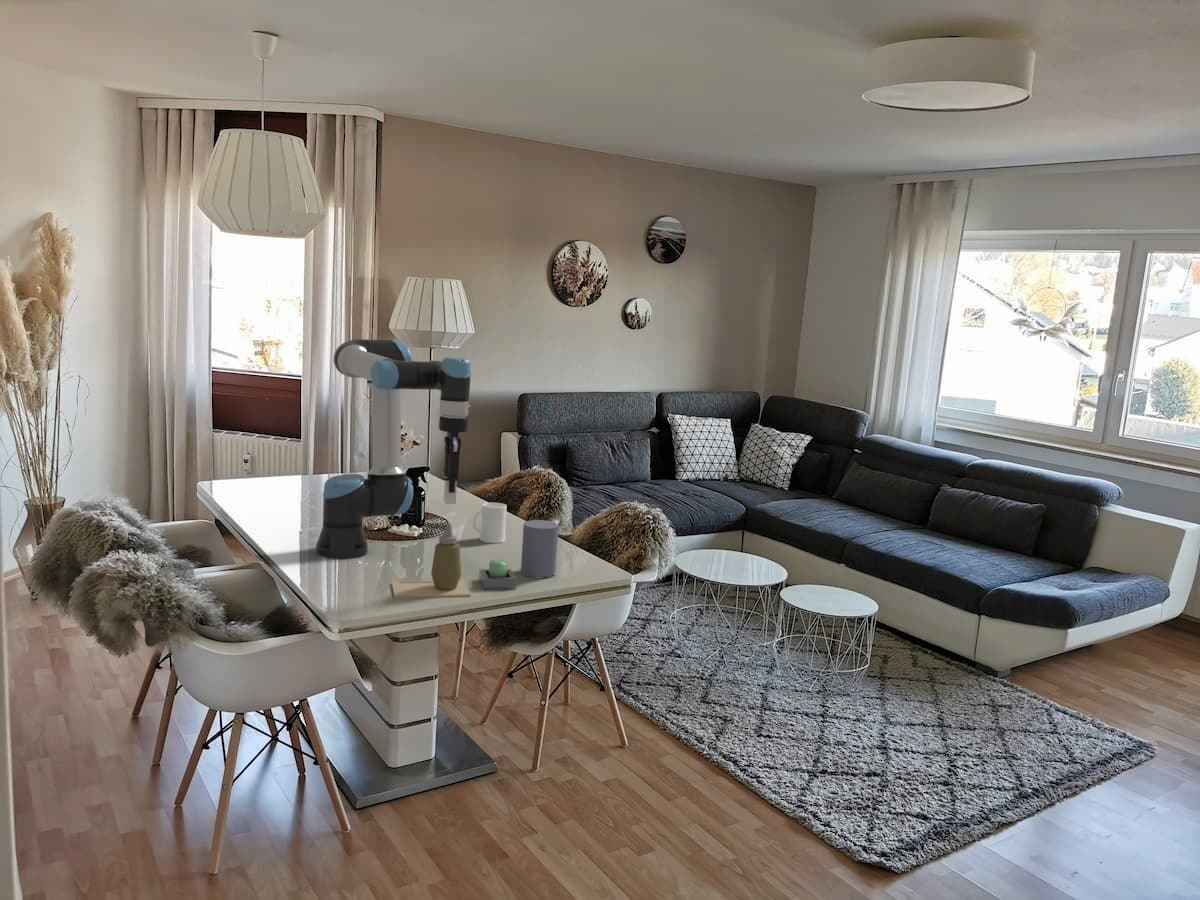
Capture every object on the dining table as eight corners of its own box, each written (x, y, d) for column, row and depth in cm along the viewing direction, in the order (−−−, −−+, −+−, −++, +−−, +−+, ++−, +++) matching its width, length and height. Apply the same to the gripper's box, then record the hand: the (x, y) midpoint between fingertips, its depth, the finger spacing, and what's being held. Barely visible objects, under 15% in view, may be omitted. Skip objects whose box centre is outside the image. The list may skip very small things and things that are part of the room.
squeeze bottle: (431, 582, 252) (434, 519, 250) (461, 583, 253) (464, 520, 250) (429, 591, 244) (432, 526, 242) (459, 592, 245) (462, 528, 242)
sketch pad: (394, 597, 239) (394, 595, 239) (391, 583, 250) (391, 581, 250) (470, 596, 245) (470, 594, 245) (464, 582, 256) (464, 580, 256)
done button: (490, 582, 254) (491, 564, 253) (487, 576, 258) (488, 559, 257) (507, 581, 255) (508, 564, 254) (504, 576, 260) (505, 559, 259)
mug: (476, 545, 296) (478, 509, 294) (466, 538, 303) (468, 503, 301) (509, 542, 302) (511, 507, 300) (498, 536, 309) (500, 501, 308)
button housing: (483, 589, 251) (484, 579, 251) (478, 579, 260) (479, 569, 259) (515, 589, 254) (516, 578, 253) (509, 579, 262) (510, 569, 262)
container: (520, 567, 275) (523, 519, 273) (555, 569, 276) (558, 521, 273) (520, 577, 265) (523, 527, 262) (555, 579, 266) (559, 529, 263)
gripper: (472, 420, 235) (467, 509, 238) (463, 412, 250) (459, 496, 254) (443, 419, 233) (438, 509, 236) (436, 411, 248) (432, 495, 251)
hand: (449, 502), depth 245 cm, fingers open, 3 cm apart
